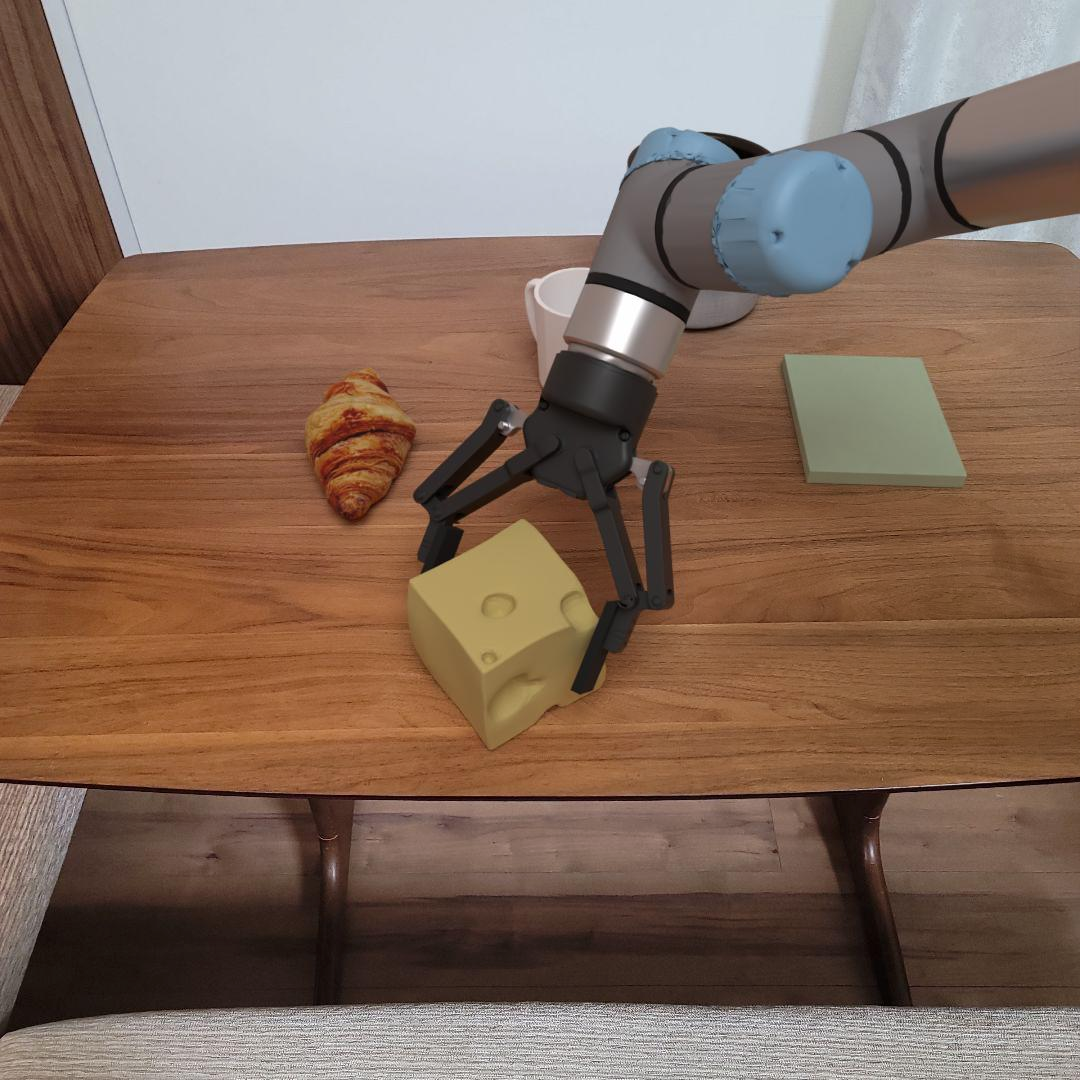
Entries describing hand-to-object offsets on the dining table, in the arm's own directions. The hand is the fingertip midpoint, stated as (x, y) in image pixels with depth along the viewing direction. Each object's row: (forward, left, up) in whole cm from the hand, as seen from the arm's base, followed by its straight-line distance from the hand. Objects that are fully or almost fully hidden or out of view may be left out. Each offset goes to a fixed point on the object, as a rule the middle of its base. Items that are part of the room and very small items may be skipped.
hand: (497, 649), depth 66 cm
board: (+33, -33, -5) cm, 47 cm away
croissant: (+26, +15, -5) cm, 30 cm away
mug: (+39, -4, -5) cm, 39 cm away
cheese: (+1, -1, -5) cm, 5 cm away
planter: (+55, -17, -5) cm, 58 cm away
